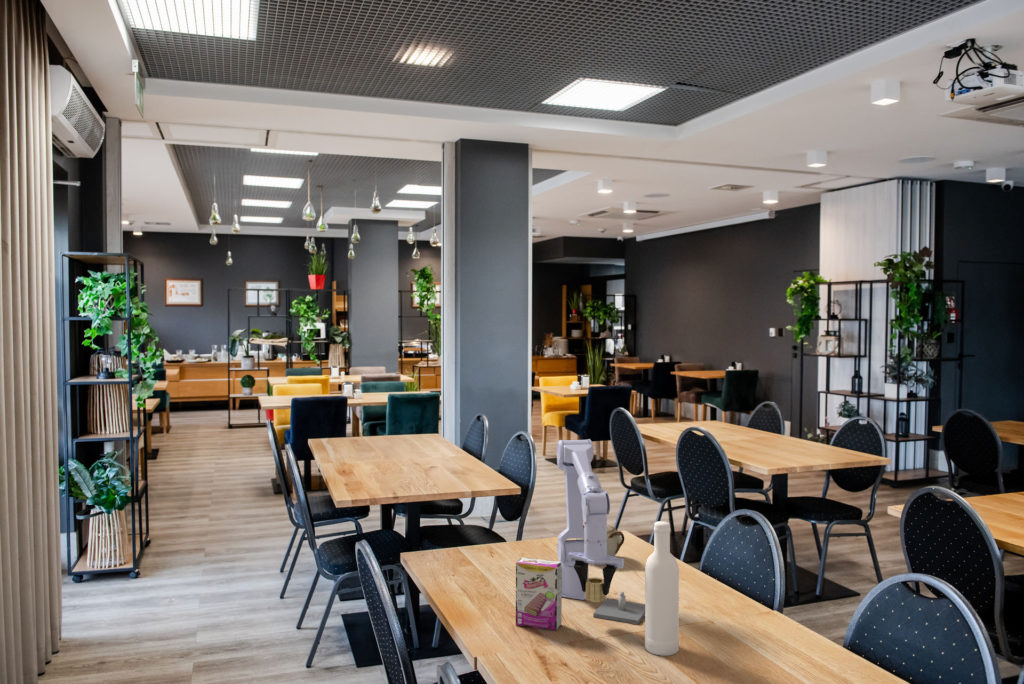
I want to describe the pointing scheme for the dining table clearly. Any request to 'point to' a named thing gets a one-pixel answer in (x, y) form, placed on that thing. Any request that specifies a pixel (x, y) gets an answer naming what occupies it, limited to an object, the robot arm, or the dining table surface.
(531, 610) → the candy bar box
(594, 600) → the collar
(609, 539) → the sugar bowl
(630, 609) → the stand
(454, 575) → the dining table surface
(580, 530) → the robot arm
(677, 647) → the bottle
